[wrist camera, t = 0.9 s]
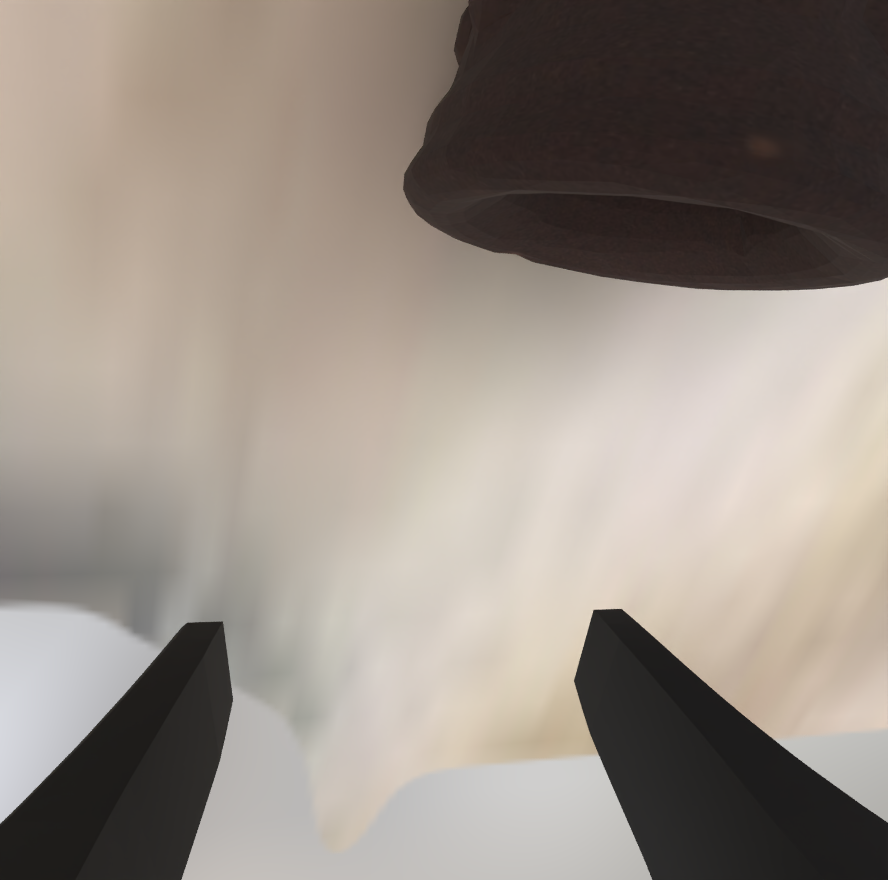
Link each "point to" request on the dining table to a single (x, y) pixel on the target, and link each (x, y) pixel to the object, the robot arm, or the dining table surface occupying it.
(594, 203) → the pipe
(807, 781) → the robot arm
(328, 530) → the dining table surface
